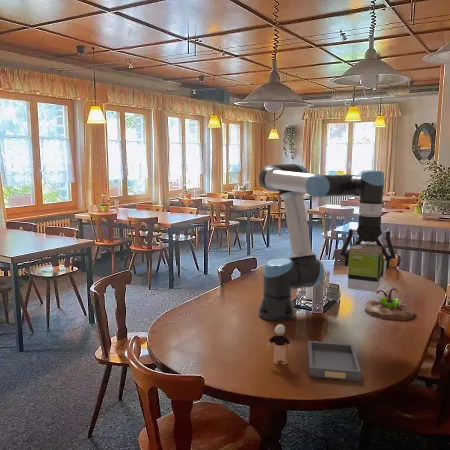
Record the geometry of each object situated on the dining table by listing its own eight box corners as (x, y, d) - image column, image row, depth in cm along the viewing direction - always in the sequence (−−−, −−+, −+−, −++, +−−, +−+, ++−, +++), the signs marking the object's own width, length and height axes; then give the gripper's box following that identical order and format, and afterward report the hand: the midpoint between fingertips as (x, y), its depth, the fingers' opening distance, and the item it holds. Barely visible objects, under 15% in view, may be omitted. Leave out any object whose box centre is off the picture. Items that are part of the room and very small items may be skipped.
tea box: (354, 278, 168) (356, 239, 165) (382, 281, 164) (385, 242, 161) (346, 288, 154) (349, 246, 152) (376, 293, 150) (380, 249, 148)
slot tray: (309, 377, 135) (309, 368, 134) (308, 349, 154) (308, 341, 154) (360, 382, 132) (361, 372, 132) (352, 352, 152) (353, 344, 152)
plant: (412, 324, 181) (415, 297, 179) (362, 316, 189) (364, 290, 187) (414, 309, 199) (415, 284, 197) (368, 303, 207) (369, 279, 205)
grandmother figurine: (290, 360, 146) (291, 322, 144) (291, 365, 142) (292, 327, 140) (266, 359, 146) (267, 322, 144) (267, 364, 142) (268, 326, 141)
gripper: (336, 215, 153) (332, 276, 157) (408, 218, 150) (403, 281, 153) (334, 212, 161) (331, 271, 164) (403, 215, 157) (398, 275, 160)
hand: (365, 276), depth 159 cm, fingers closed on tea box, 11 cm apart
